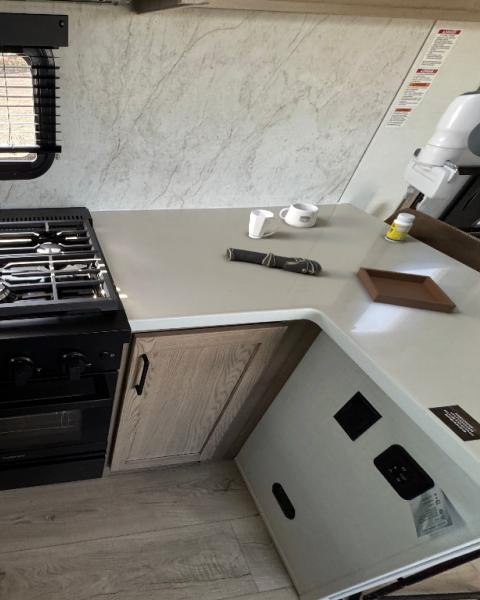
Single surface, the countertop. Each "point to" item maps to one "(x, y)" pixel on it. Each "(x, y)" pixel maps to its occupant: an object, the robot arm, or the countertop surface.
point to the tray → (405, 290)
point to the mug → (301, 215)
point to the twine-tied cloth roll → (275, 260)
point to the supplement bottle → (400, 227)
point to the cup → (261, 223)
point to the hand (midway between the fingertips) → (412, 203)
